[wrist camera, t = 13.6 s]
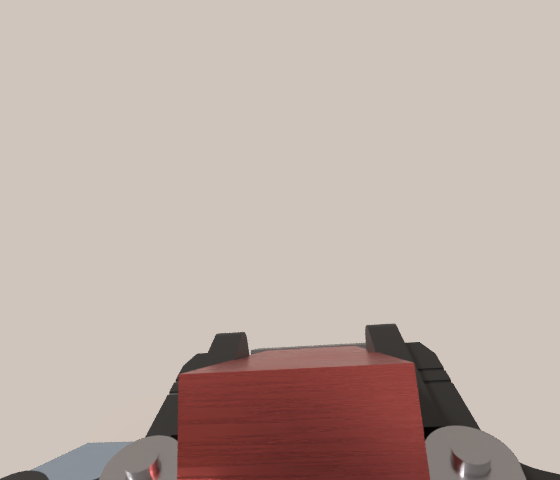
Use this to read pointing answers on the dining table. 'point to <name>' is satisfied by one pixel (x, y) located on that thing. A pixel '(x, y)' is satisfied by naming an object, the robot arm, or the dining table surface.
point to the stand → (81, 462)
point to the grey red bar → (302, 417)
